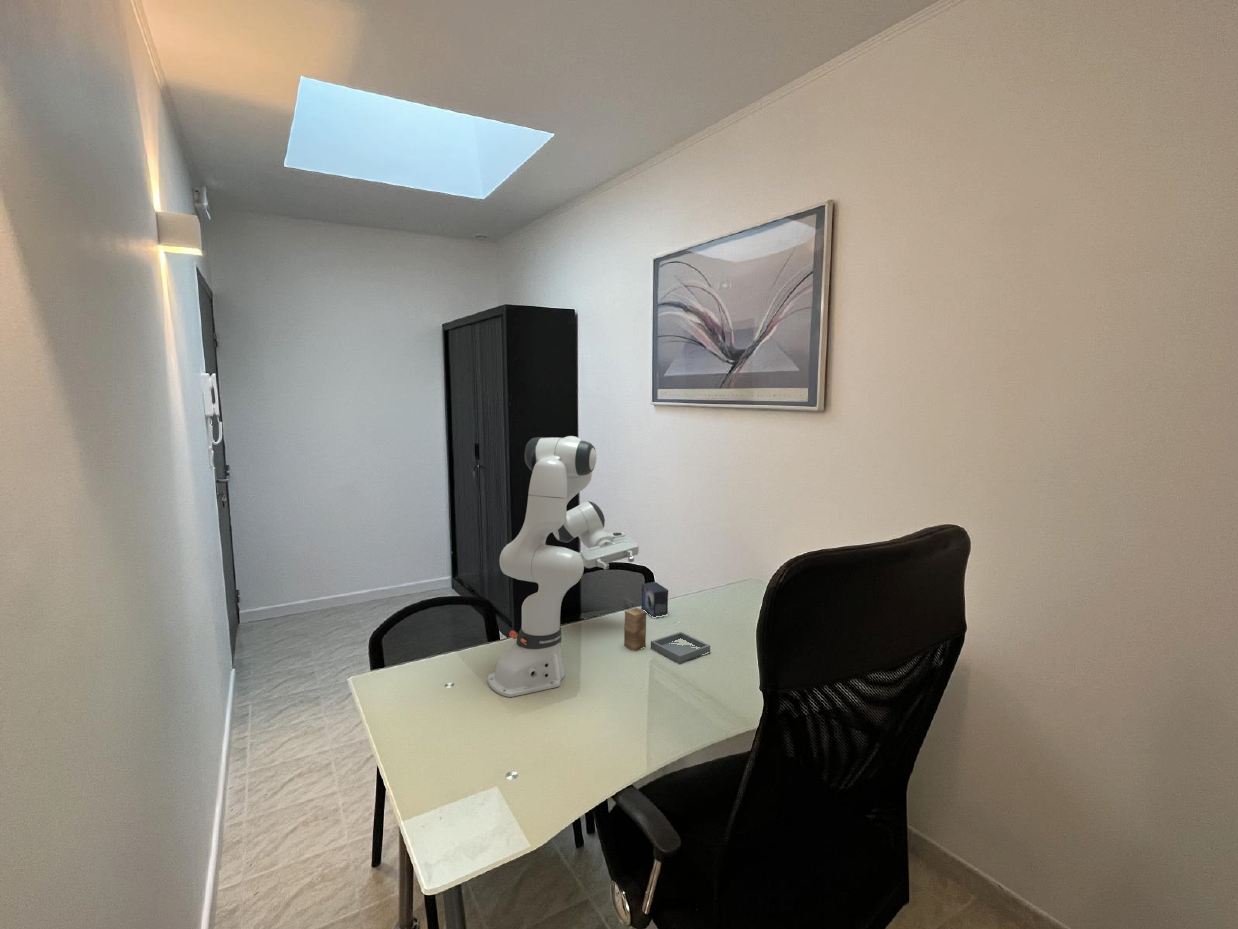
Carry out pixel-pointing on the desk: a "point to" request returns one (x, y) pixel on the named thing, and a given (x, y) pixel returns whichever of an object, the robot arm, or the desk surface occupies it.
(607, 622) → the desk surface
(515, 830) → the desk surface
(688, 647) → the tray
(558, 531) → the robot arm
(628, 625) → the walnut block
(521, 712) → the desk surface
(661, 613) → the small box
